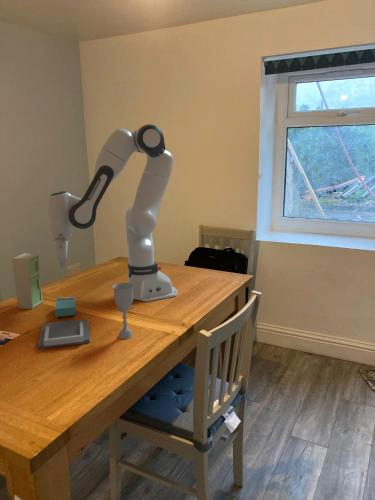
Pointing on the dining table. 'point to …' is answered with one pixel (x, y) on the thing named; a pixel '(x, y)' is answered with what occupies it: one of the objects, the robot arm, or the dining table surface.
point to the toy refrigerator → (27, 280)
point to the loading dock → (64, 333)
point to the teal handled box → (65, 307)
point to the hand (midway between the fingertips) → (63, 264)
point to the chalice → (124, 305)
